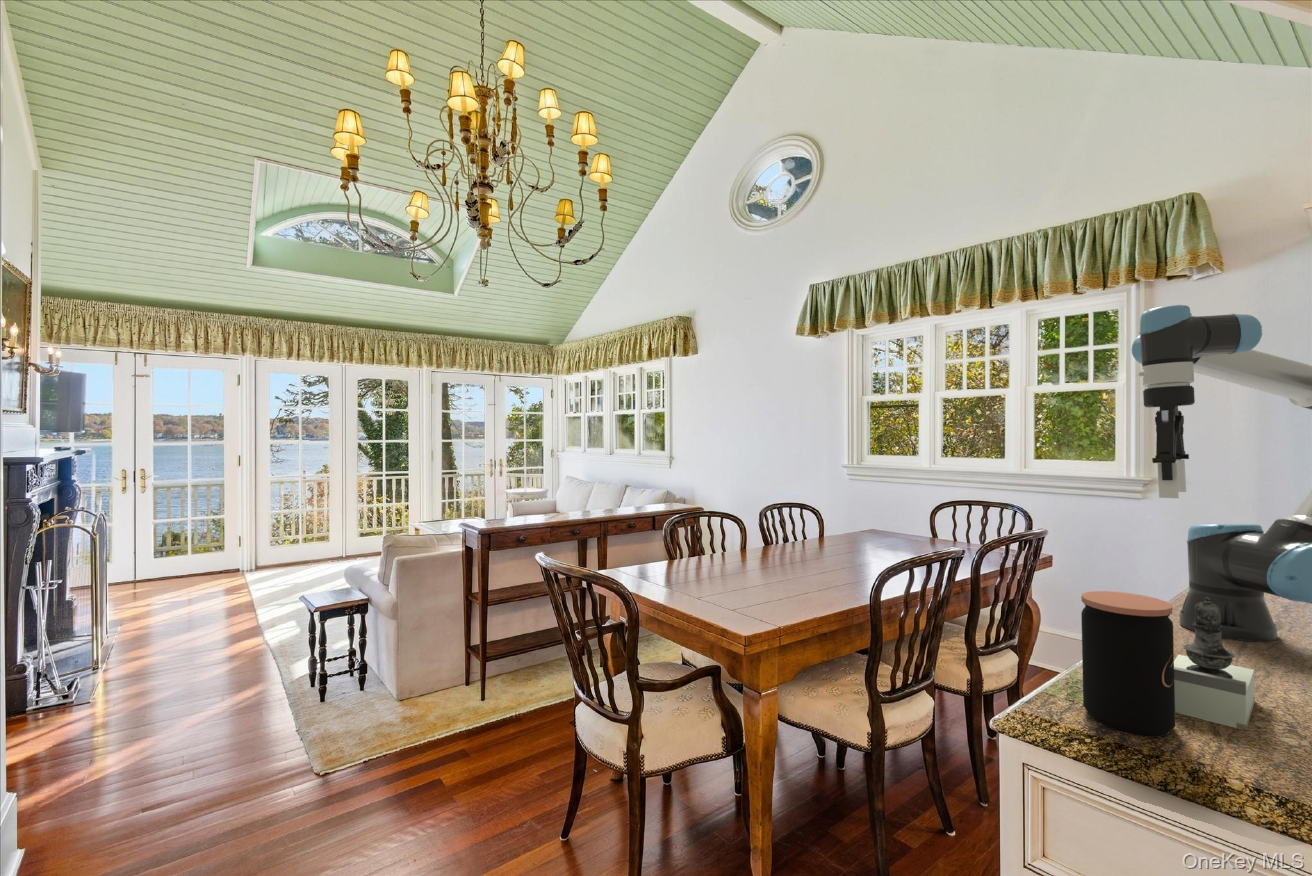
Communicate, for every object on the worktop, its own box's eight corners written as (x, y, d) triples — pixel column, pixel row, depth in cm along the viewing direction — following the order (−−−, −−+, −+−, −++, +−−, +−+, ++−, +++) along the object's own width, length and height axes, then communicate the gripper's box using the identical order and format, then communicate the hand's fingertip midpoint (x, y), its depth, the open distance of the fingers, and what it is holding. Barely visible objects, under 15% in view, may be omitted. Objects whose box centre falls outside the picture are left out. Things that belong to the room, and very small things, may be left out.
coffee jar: (1184, 746, 79) (1181, 614, 79) (1086, 727, 85) (1084, 603, 85) (1167, 715, 88) (1164, 596, 88) (1080, 699, 94) (1078, 587, 94)
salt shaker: (1184, 663, 95) (1183, 589, 96) (1235, 672, 91) (1233, 596, 91) (1182, 673, 91) (1180, 596, 91) (1235, 684, 87) (1233, 603, 87)
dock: (1179, 683, 99) (1178, 645, 99) (1254, 701, 92) (1253, 659, 92) (1163, 709, 90) (1162, 666, 90) (1246, 730, 83) (1245, 684, 83)
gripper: (1151, 390, 126) (1156, 488, 125) (1132, 385, 108) (1138, 499, 108) (1199, 386, 120) (1204, 489, 120) (1187, 381, 103) (1193, 501, 103)
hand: (1173, 494), depth 114 cm, fingers open, 13 cm apart
